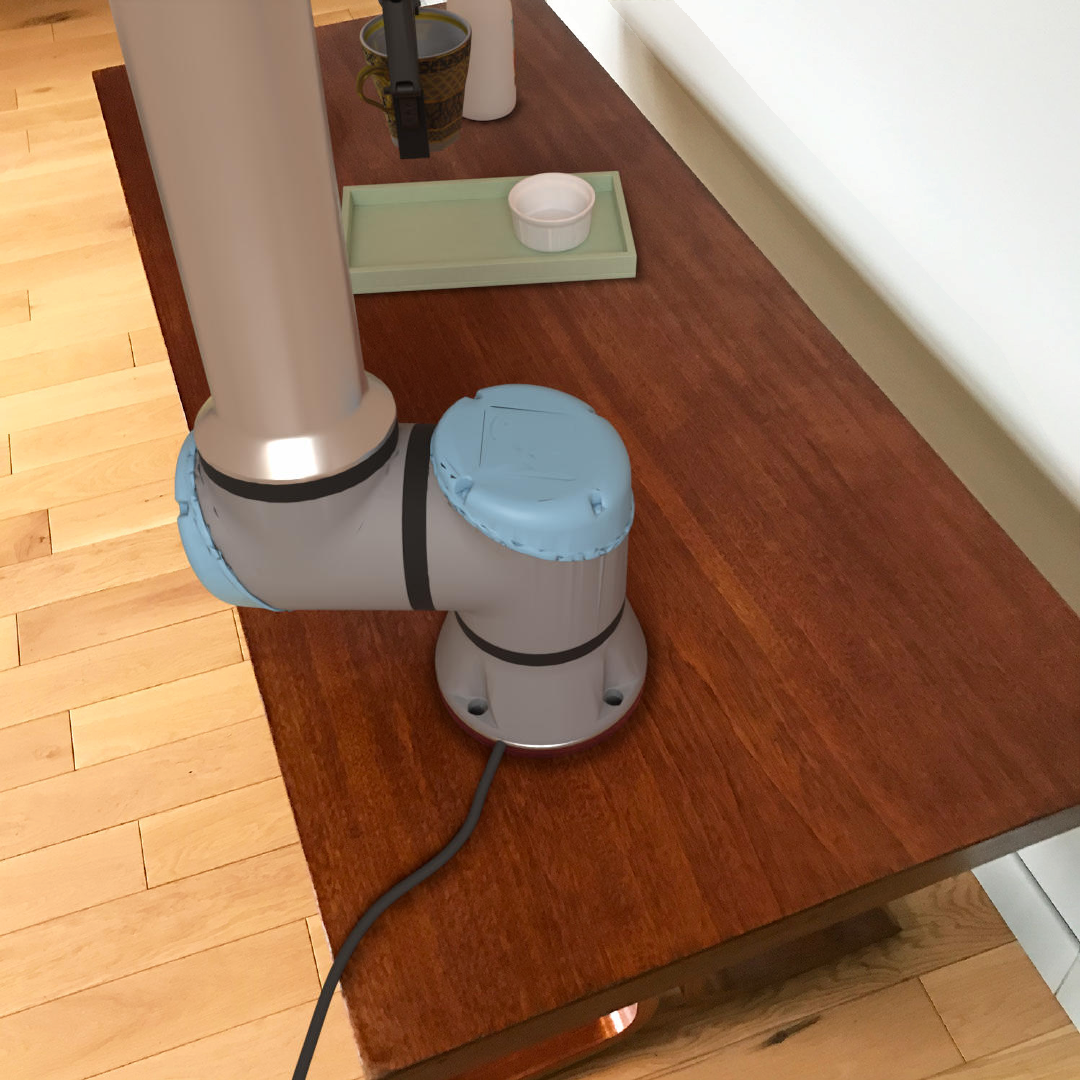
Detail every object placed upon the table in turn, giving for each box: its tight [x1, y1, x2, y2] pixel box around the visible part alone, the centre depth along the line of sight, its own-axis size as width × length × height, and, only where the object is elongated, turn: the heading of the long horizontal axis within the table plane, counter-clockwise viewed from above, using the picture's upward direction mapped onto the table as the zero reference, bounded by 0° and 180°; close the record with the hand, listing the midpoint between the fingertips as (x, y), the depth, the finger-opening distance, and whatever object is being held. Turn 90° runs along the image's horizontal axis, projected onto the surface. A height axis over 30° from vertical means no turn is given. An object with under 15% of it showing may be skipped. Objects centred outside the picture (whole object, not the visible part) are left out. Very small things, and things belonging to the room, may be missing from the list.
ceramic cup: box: [355, 6, 472, 153], centre depth 102 cm, size 13×10×10 cm
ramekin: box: [508, 172, 595, 253], centre depth 115 cm, size 9×9×4 cm
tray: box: [341, 170, 638, 295], centre depth 116 cm, size 16×30×3 cm, turn 94°
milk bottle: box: [445, 0, 517, 122], centre depth 127 cm, size 8×8×20 cm
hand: (415, 126), depth 105 cm, fingers closed on ceramic cup, 10 cm apart
